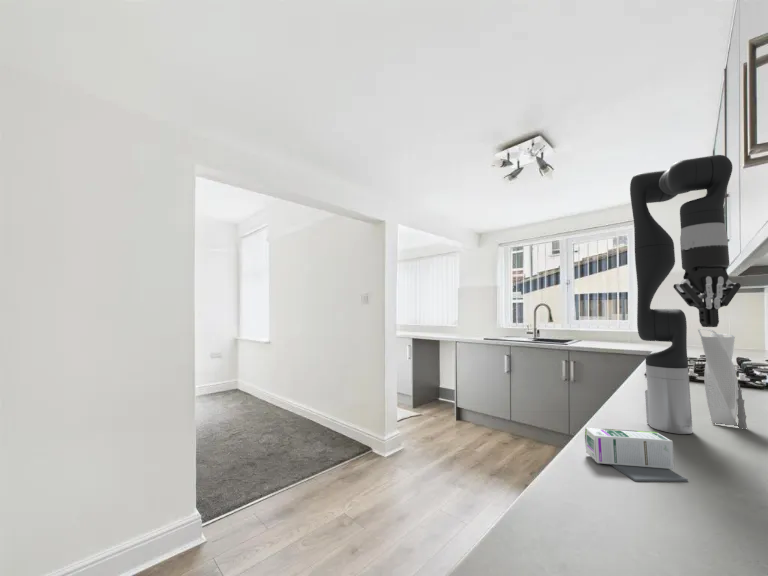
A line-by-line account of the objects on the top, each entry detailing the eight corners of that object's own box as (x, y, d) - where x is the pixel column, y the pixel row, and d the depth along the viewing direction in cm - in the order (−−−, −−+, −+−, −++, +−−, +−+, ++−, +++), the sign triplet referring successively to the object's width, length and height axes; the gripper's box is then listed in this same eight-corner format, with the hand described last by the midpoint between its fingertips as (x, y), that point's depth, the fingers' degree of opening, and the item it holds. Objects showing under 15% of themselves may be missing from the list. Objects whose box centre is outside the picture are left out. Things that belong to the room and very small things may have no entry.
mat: (595, 455, 76) (595, 453, 76) (640, 455, 76) (640, 453, 76) (635, 481, 64) (635, 479, 64) (687, 481, 64) (687, 479, 64)
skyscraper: (706, 425, 99) (699, 328, 101) (702, 418, 105) (696, 327, 107) (748, 431, 94) (740, 329, 96) (741, 423, 100) (734, 328, 102)
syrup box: (673, 440, 69) (594, 434, 72) (675, 471, 68) (595, 463, 71) (656, 431, 74) (584, 426, 77) (658, 459, 74) (585, 453, 77)
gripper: (717, 250, 78) (722, 326, 76) (659, 250, 78) (664, 326, 76) (752, 243, 70) (759, 327, 69) (688, 243, 70) (694, 327, 69)
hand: (709, 326), depth 73 cm, fingers closed
